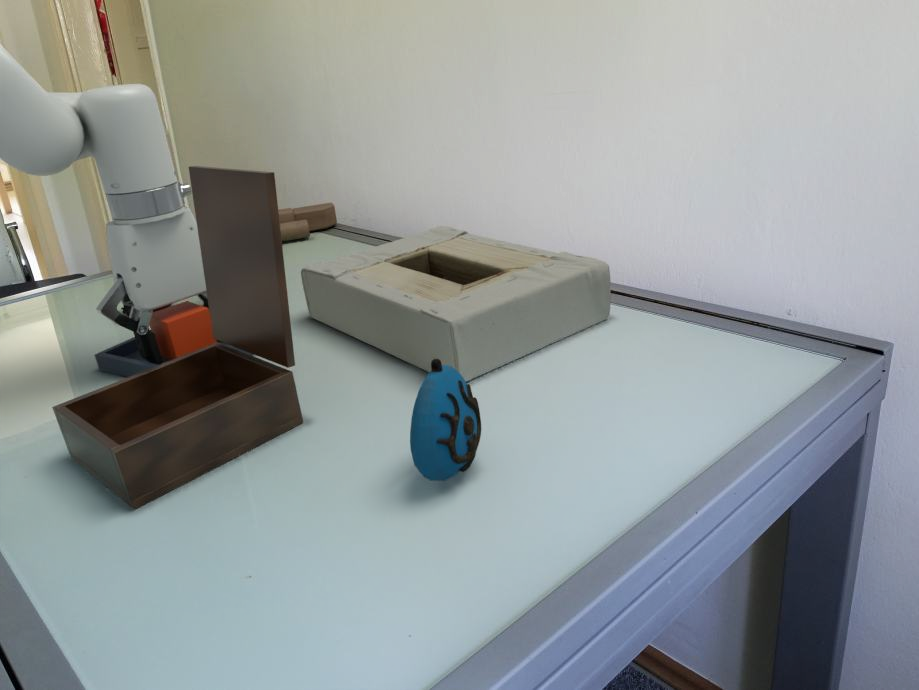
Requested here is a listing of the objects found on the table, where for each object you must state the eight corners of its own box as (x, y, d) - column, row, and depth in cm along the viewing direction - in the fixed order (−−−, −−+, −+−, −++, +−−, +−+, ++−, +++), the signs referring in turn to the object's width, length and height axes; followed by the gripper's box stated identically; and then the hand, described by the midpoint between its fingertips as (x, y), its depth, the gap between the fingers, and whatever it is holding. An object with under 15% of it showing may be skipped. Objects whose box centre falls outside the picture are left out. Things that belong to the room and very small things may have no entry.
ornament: (456, 506, 54) (441, 386, 50) (402, 496, 56) (383, 380, 52) (496, 448, 61) (486, 339, 57) (446, 441, 63) (433, 335, 59)
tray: (99, 370, 86) (94, 354, 85) (190, 328, 97) (186, 313, 96) (185, 391, 78) (180, 373, 77) (275, 342, 89) (271, 326, 88)
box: (614, 318, 85) (444, 270, 108) (613, 255, 82) (438, 219, 105) (462, 393, 72) (306, 320, 95) (454, 321, 69) (295, 264, 92)
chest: (134, 510, 58) (114, 452, 56) (70, 458, 67) (51, 407, 65) (303, 422, 69) (292, 371, 67) (229, 387, 78) (217, 341, 76)
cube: (178, 364, 84) (166, 322, 82) (158, 354, 87) (146, 314, 85) (218, 348, 87) (208, 307, 85) (197, 339, 90) (187, 300, 88)
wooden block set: (237, 210, 138) (331, 195, 142) (243, 239, 140) (336, 224, 144) (237, 229, 123) (343, 212, 127) (244, 261, 125) (348, 243, 129)
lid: (266, 173, 61) (274, 172, 61) (188, 166, 70) (195, 165, 70) (288, 368, 66) (295, 365, 67) (213, 338, 75) (220, 336, 76)
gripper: (201, 184, 88) (234, 320, 95) (51, 219, 77) (101, 369, 84) (233, 188, 83) (265, 330, 90) (78, 226, 72) (129, 385, 79)
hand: (186, 348), depth 87 cm, fingers open, 7 cm apart
